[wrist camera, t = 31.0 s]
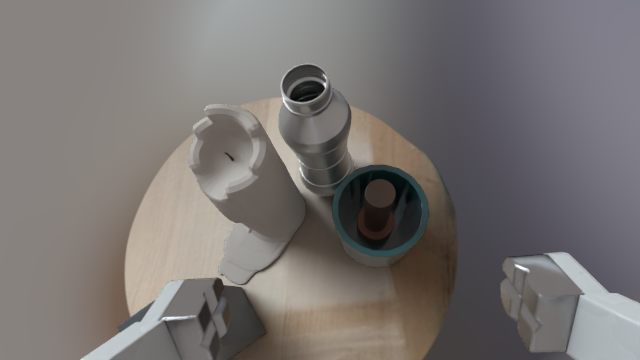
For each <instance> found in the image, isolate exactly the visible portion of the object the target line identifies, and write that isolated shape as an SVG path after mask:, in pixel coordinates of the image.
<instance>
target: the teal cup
mask: <svg viewBox="0 0 640 360" xmlns="http://www.w3.org/2000/svg"><path fill="white" fill-rule="evenodd" d="M377 179H383V180H387V181H388V182H390V183H391V184H392V185H393V186H394V188H395V191H396V197H395V200H394V203H393V206H392V209H391V212H392V214H393V216H394V227H393V230H392V232H391V234H390V237H389V238H388V240H387V241H385V242H384V243H382V244H380V245H370V244H367V243H365V242H364V241H363V240H362V239H361V238H360V237H359V235H358V231H357V216H358V213H359V211H360V210H361V209H362V208H363V207H364V206H365V190H366V187H367V186H368V184H369V183H370V182H372V181H374V180H377ZM332 217H333V220H334V224H335V227H336V230H337V232H338V235H339V238H340V241H341V244H342V246H343V248H344V249H345V251H346V252H347V253H348V254H349V256H351V257H352V258H353V259H354V260H355V261H357V262H359V263H361V264H363V265H366V266H370V267H384V266H388V265H391V264H393V263H395V262H397V261H398V260H400V259H401V258H402V257H403V256H405V255H406V253H407V252H408V251H409V250H410V249H411V248H412V247H413V246H414V245H415V244H416V243H417V242H418V241H419V239H420V238H421V236H422V235H423V233H424V232H425V230H426V226H427V222H428V218H429V210H428V201H427V198H426V196H425V194H424V192H423V189H422V188H421V186H420V185H419V184H418V183H417V182H416V180H415V179H414V178H413V177H412V176H411V175H409V174H407V173H406V172H404V171H402V170H401V169H399V168H396V167H392V166H388V165H369V166H366V167H363V168H360V169H357V170H355V171H354V172H353V173H351V174H350V175H348V176H347V177H346V178H345V179H344V180H343V181H342V183H341V184H340V185H339V187H338V188H337V190H336V193H335V196H334V199H333V203H332Z"/></svg>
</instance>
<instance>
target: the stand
mask: <svg viewBox="0 0 640 360" xmlns="http://www.w3.org/2000/svg"><path fill="white" fill-rule="evenodd" d="M224 288H225V289H224V291H223V293H222V295H223V296H224V297H226V298H227V299H228V300H229V304H230V309H231V319H230V325H229V328H228V331H227V333H226V334H225V335H224V336H222V337H221V338H220V341H221V344H222V347H221V350H220V353H219V355H218V358H217V360H230V359H232V358H233V357H234V356H236V355H237V354H238V353H240V352H241V351H242V350H244V349H245V348H246V347H248V346H249V345H250V344H252V343H253V342H254V341H256V340H257V339H258V338H260V337H261V336H262V335H264V334H265V333H266V330H265V328H264V326H263V325H262V323H261V321H260V319H259V318H258V316H257V314H256V312H255V311H254V309H253V307H252V306H251V304H250V302H249V300H248V299H247V297H246V295H245V293H244V292H243V290H242V288H241V287H236V286H226V285H224ZM154 301H155V300H154ZM154 301H153V302H152V303H150V304H149V305H147V306H146V307H144V308H143V309H142V310H140V311H139V312H137V313H136V314H135V315H133V316H132V317H130V318H129V319H128V320H126V321H125V322H123V323H122V324H121V325H119V326H118V329H119V332H122V331H123V330H125V329H126V328H128V327H129V326H131V325H132V324H134V323H135V322H141V321H142V319H143V318H144V316H145V315H146V313H147V312H148V310H149V309H150V307H151V306H152V304H153V303H154Z"/></svg>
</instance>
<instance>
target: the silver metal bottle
mask: <svg viewBox="0 0 640 360" xmlns="http://www.w3.org/2000/svg"><path fill="white" fill-rule="evenodd" d="M280 86H281V87H280V88H281V94H282V96H283V101H284V103H283V105H282V107H281V109H280V113H279V131H280V134H281V136H282V138H283V139H284V141H285V142H286V144H287V145H288V146H289V147H290V148H291V149H292V150H293V152H294V153H295V154H296V156H297V158H298V159H299V164H300V165H299V171H300V177H301V180H302V182H303V184H304V185H305V187H306V188H307V189H309V190H310V191H311V192H313V193H314V194H316V195H320V196H332V195H335V193H336V190H337V188H338V187H339V185H340V184H341V183H342V181H343V180H344V179H345V178H346V177H347V176H348V175H350V174H351V173H353V172H354V164H353V160H352V158H351V155H350V153H349V152H348V149H347V139H348V135H349V131H350V126H351V110H350V107H349V104H348V103H347V101H346V100H345V98H344V97H343V95H342V94H341V93H340V92H339V91H337V90H336V89H334V88H332V86H331V84H330V81H329V77H328V74H327V73H326V71H325V70H324V69H323V68H322V67H320V66H319V65H316V64H312V63H304V64H299V65H296V66H294V67H293V68H291V69H289V70H288V71H287V72H286V73H285V75H284V76H283V78H282V80H281V85H280Z"/></svg>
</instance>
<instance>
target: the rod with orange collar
mask: <svg viewBox="0 0 640 360" xmlns="http://www.w3.org/2000/svg"><path fill="white" fill-rule="evenodd" d="M395 197H396V191H395V188H394V186H393V185H392V184H391V183H390V182H388V181H387V180H383V179H377V180H374V181H372V182H370V183H369V184H368V186H367V187H366V190H365V206H364V207H363V208H362V209H361V210H360V211H359V213H358V216H357V231H358V235H359V237H360V238H361V239H362V240H363V241H364V242H365V243H367V244H370V245H380V244H382V243H384V242H385V241H387V240H388V238H389V237H390V234H391V232H392V230H393V227H394V216H393V214H392V212H391V209H392V206H393V203H394V200H395Z"/></svg>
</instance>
